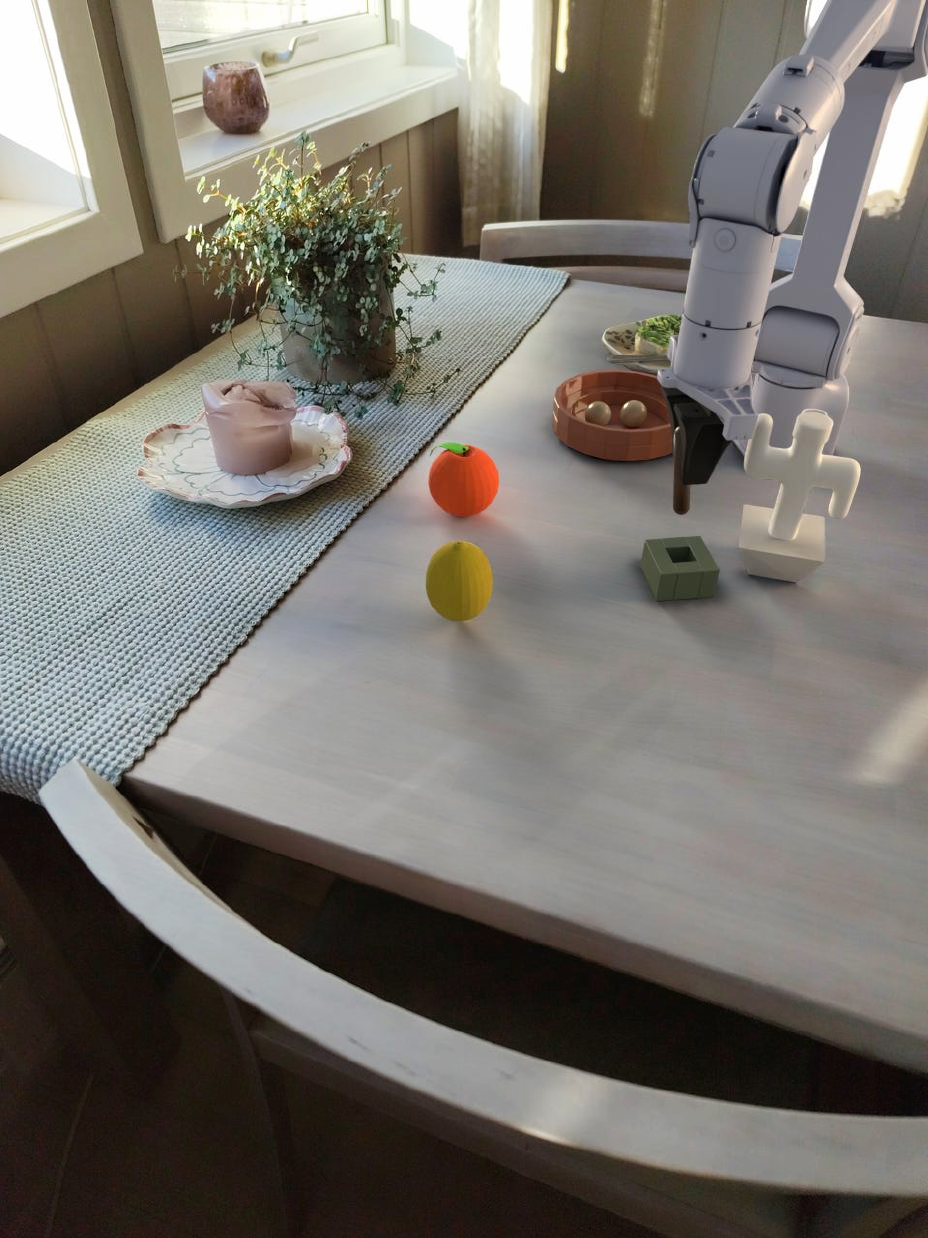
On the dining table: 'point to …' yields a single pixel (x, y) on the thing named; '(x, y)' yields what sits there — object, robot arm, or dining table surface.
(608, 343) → the salad plate
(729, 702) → the dining table surface
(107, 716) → the dining table surface
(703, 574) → the holder
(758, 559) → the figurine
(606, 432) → the bowl
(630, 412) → the bead
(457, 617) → the lemon
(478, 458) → the clementine
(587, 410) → the bead
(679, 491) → the stick
